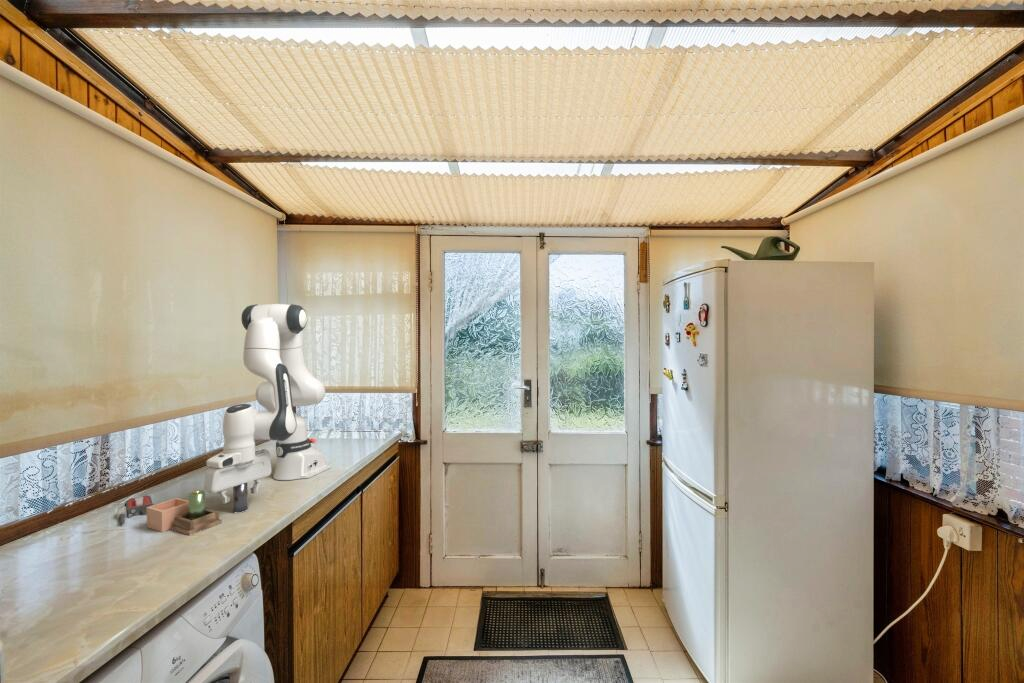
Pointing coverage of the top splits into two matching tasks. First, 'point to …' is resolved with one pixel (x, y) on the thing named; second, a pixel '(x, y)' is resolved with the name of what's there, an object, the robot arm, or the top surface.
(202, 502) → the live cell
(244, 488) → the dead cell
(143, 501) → the walkie-talkie
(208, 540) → the top surface
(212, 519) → the cell holder
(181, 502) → the cup
